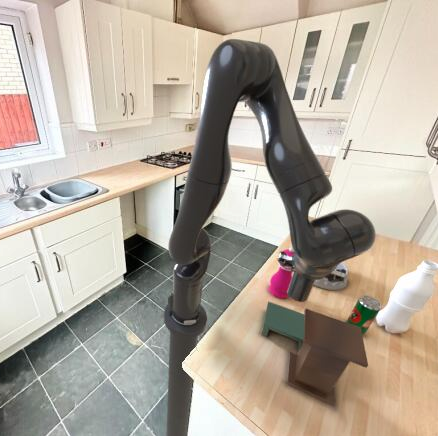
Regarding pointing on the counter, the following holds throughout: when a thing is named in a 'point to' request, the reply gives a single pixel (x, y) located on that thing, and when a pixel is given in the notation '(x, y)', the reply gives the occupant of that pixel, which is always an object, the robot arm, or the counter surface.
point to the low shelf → (284, 322)
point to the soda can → (364, 312)
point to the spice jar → (300, 287)
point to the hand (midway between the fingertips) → (305, 271)
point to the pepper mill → (281, 279)
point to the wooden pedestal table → (324, 355)
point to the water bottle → (408, 298)
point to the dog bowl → (333, 285)
